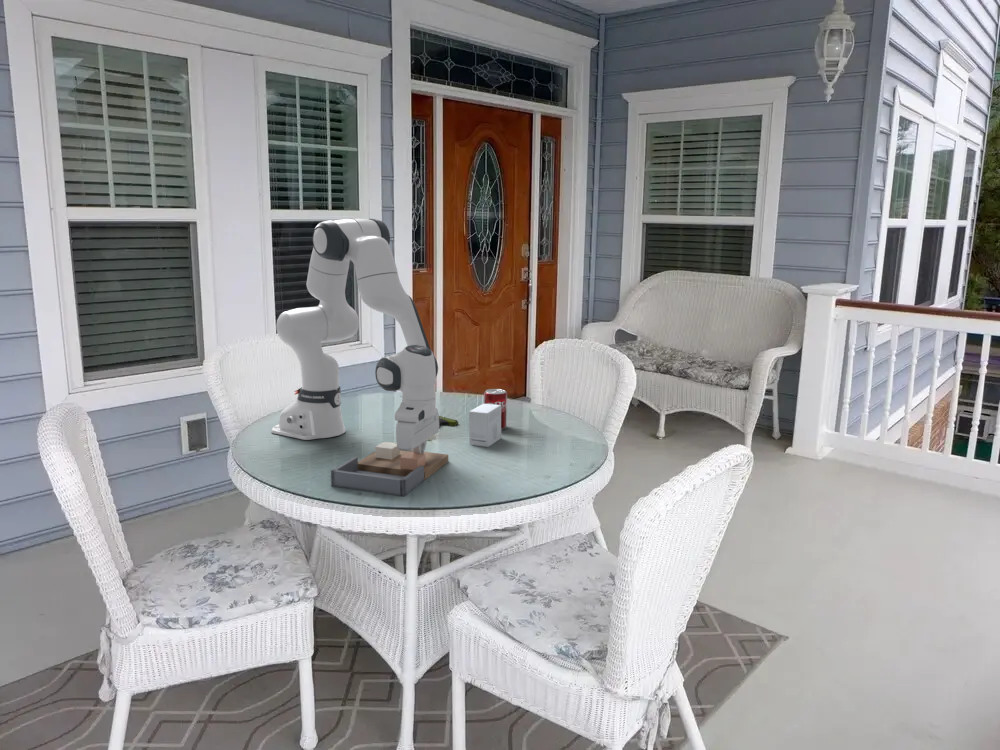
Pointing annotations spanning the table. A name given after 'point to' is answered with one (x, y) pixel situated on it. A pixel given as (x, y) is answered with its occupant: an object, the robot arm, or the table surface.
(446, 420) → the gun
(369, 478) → the bin
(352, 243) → the robot arm
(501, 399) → the soda can
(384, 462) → the walnut board
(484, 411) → the skincare box
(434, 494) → the table surface
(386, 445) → the cream tile
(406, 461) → the terracotta tile
